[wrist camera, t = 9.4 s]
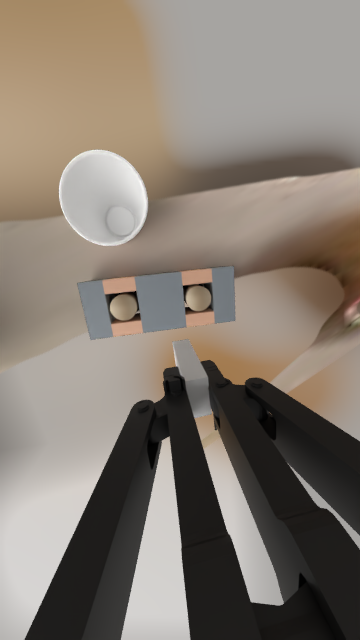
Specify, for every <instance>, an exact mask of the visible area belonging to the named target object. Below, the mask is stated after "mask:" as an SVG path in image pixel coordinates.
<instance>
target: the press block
mask: <svg viewBox="0 0 360 640" xmlns="http://www.w3.org/2000/svg"><path fill="white" fill-rule="evenodd" d="M200 283H204V288H206V289H207V290H208V291H209V292H210V294H211V302H210V305H209V306H208V307H207V308H206V309H205V310H202V311H195V310H192V309H191V308H190V307H185V306H184V295H183V285H191V284H200ZM77 285H78V289H79V293H80V297H81V302H82V306H83V310H84V314H85V318H86V323H87V327H88V331H89V335H90V339H91V340H93V339H101V338H108V337H116V336H124V335H131V334H139V333H146V332H154V331H161V330H169V329H177V328H184V327H191V326H199V325H207V324H214V323H222V322H230V321H235V292H234V266H224V267H213V268H204V269H195V270H185V271H176V272H167V273H157V274H148V275H139V276H130V277H120V278H111V279H102V280H92V281H86V282H80V283H77ZM130 291H137V297H138V303H139V309H140V313H136V314H135V315H134V316H133V317H132V318H131V319H129V320H119V319H117V318H115V317H114V316H113V315H112V313H111V311H110V304H111V301H112V300H113V299H114V298H115V297H114V293H121V292H130Z"/></svg>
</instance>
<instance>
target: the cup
mask: <svg viewBox="0 0 360 640" xmlns="http://www.w3.org/2000/svg"><path fill="white" fill-rule="evenodd" d="M59 200H60V204H61V208H62V211H63V213H64V215H65V218H66V219H67V221H68V222H69V224H70V225H71V227H72V228H73V229H74V230H75V231H76V232H77V233H78V234H79V235H80V236H82V237H83V238H85V239H86V240H88V241H90V242H92V243H94V244H98V245H102V246H116V245H120V244H123V243H126V242H128V241H129V240H131V239H132V238H134V237H135V236H136V235H137V234H138V233H139V231H140V230H141V228H142V227H143V225H144V222H145V220H146V217H147V212H148V196H147V191H146V188H145V185H144V182H143V180H142V178H141V176H140V175H139V173H138V172H137V170H136V169H135V168H134V167H133V166H132V165H131V164H130V163H129V162H128V161H127V160H126V159H124V158H123V157H121V156H119V155H118V154H115V153H113V152H110V151H106V150H89V151H86V152H83V153H81V154H79V155H78V156H76V157H74V158H73V159H72V160H71V161H70V163H68V165H67V166H66V168H65V169H64V171H63V173H62V176H61V179H60V185H59Z"/></svg>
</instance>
